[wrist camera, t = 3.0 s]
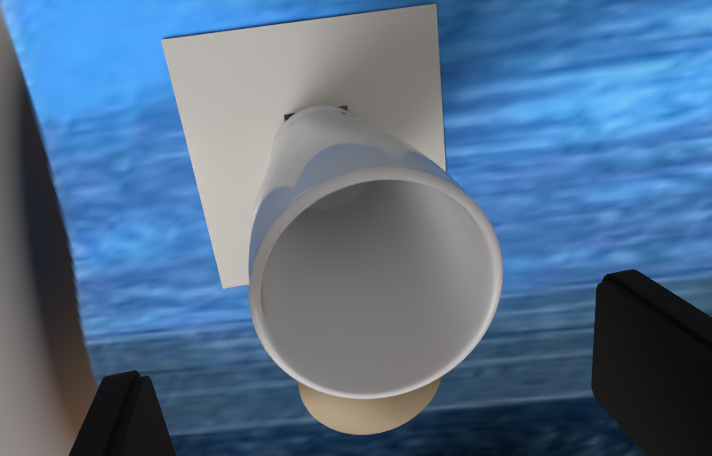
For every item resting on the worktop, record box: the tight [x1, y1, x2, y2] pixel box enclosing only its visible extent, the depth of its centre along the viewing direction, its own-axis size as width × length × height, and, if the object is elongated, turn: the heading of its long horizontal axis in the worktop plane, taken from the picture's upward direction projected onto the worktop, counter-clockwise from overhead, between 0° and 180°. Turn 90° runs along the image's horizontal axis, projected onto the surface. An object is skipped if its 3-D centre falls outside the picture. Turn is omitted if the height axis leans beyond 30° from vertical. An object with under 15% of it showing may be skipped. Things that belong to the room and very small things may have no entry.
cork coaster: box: [298, 376, 442, 435], centre depth 32 cm, size 9×9×1 cm
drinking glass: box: [248, 105, 503, 399], centre depth 20 cm, size 7×7×15 cm
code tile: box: [161, 4, 446, 289], centre depth 27 cm, size 13×13×1 cm
